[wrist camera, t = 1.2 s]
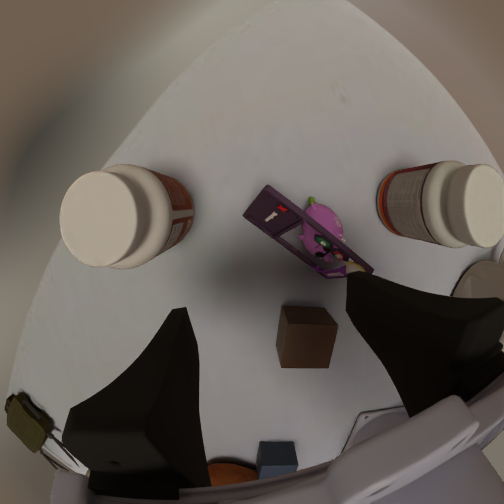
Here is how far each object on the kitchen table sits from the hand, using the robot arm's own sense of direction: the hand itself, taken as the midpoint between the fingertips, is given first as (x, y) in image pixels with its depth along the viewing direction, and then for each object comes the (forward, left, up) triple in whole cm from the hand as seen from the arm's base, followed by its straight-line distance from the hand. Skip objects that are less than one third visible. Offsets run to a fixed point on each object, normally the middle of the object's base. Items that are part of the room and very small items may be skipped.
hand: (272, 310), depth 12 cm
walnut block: (-4, +6, -12) cm, 14 cm away
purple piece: (-3, -3, -12) cm, 13 cm away
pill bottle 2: (-13, -6, -12) cm, 19 cm away
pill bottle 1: (+9, -3, -12) cm, 15 cm away
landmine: (+37, +26, -10) cm, 47 cm away
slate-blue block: (-4, +23, -12) cm, 26 cm away
